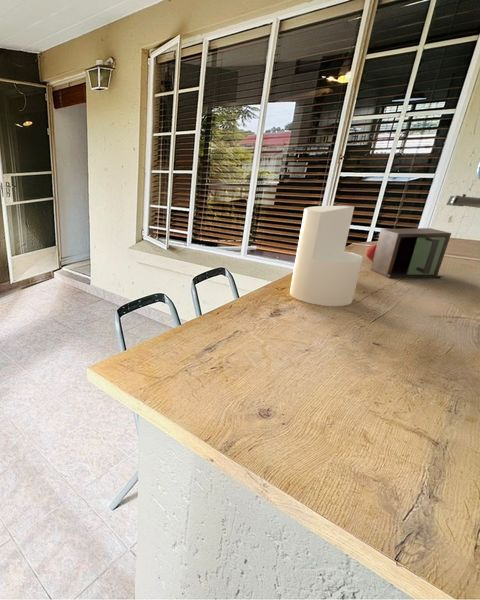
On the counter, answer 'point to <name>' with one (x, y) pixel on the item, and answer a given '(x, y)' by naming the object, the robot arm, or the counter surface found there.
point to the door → (425, 255)
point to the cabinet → (403, 251)
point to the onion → (371, 252)
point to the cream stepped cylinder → (325, 258)
